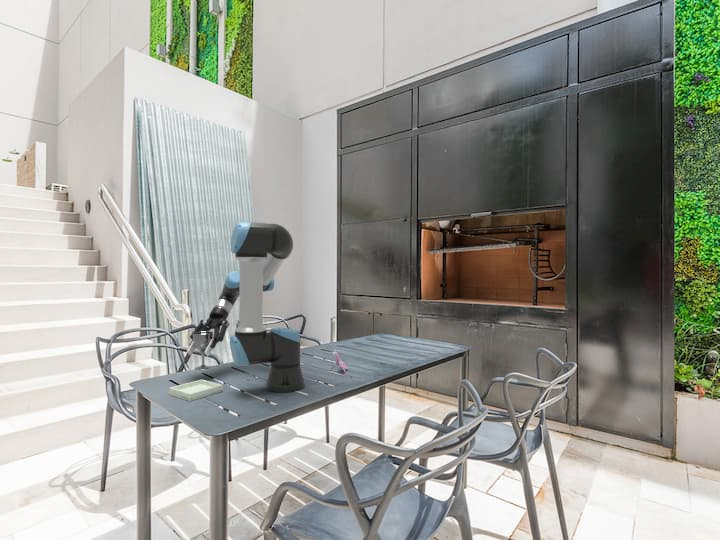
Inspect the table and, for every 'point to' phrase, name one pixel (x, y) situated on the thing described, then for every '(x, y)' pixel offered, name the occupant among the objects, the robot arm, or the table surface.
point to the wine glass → (202, 345)
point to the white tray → (195, 390)
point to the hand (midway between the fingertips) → (197, 353)
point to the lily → (339, 361)
